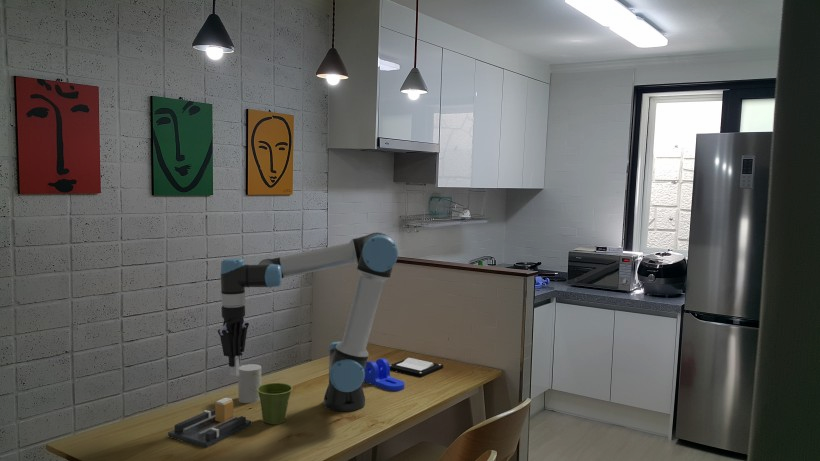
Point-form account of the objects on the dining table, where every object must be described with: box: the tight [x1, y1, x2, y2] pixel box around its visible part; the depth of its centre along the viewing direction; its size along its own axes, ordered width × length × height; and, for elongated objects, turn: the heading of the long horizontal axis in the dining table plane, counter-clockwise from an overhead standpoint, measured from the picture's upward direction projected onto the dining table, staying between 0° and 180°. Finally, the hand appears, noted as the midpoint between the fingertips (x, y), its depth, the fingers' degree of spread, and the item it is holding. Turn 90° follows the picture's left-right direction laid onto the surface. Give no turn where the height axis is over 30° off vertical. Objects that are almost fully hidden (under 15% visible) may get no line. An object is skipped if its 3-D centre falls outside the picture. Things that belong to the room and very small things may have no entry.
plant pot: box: [257, 382, 294, 425], centre depth 207 cm, size 12×12×11 cm
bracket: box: [363, 357, 406, 392], centre depth 248 cm, size 18×8×9 cm, turn 45°
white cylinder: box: [237, 363, 262, 404], centre depth 227 cm, size 8×8×12 cm
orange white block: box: [214, 397, 234, 422], centre depth 202 cm, size 4×4×7 cm
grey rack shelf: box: [174, 408, 247, 440], centre depth 197 cm, size 16×16×2 cm
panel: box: [167, 415, 252, 448], centre depth 197 cm, size 16×20×3 cm
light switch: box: [390, 357, 444, 378], centre depth 271 cm, size 18×3×18 cm
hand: (234, 375), depth 205 cm, fingers closed
